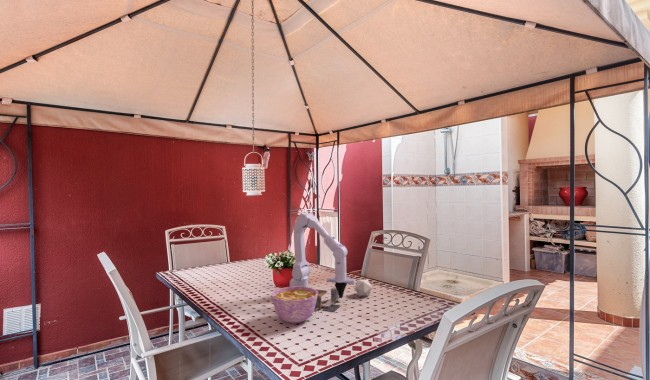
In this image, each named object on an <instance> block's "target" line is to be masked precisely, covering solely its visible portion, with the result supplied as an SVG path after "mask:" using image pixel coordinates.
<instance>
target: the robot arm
mask: <svg viewBox="0 0 650 380" xmlns="http://www.w3.org/2000/svg"><path fill="white" fill-rule="evenodd" d="M308 228H311V229H314V230H315V231H316V232H317V234H318V235H320V236H321V237H322V238H323V242H324V245H326V246H327V247H328V249H329V250H330V251H331V252H332V256H333V258H334V277H327V278H326V282H327V283H334V287H335V288H336V289H337V291H338V294H339V299H343V297H344V293H345V290H346V287H347V285H352V286H354V285H355V286H356V279H351V278H347V255H348V249H347V247H346V246H345V245H343V244H342V243H341V242H339V240H338V239H337V237H336V235H333V234H329V232H328V231H327V230H326V229H325V227H324V226H323V225H322V223H321V222H320V221H319V219H318V217H316V216H315V214H314V213H313V212H308V213H300V214H299V215H298V216H297V217H296V218H295V223H294V225H293V230H292V231H293V240H294V241H293V244H294V255H295V258H294V259H295V261H294V263H293V266H292V271H291V276H292V278H291V279H290V281H289V287H294V286H302V287H309V275H310V273H311V268H310V267H309V262H308V260H306V258H307V257H306V246H305V244H306V243H305V230H306V229H308Z"/></svg>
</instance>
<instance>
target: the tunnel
mask: <svg viewBox="0 0 650 380" xmlns="http://www.w3.org/2000/svg"><path fill="white" fill-rule="evenodd" d="M315 290H317V292H318V295H317V297H318V308H317V310H318V311H322V310H323V309H322V308H323V307H321V303H322V297H323V296H324V295H325V294H327V293H328V290H323V289H315Z"/></svg>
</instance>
